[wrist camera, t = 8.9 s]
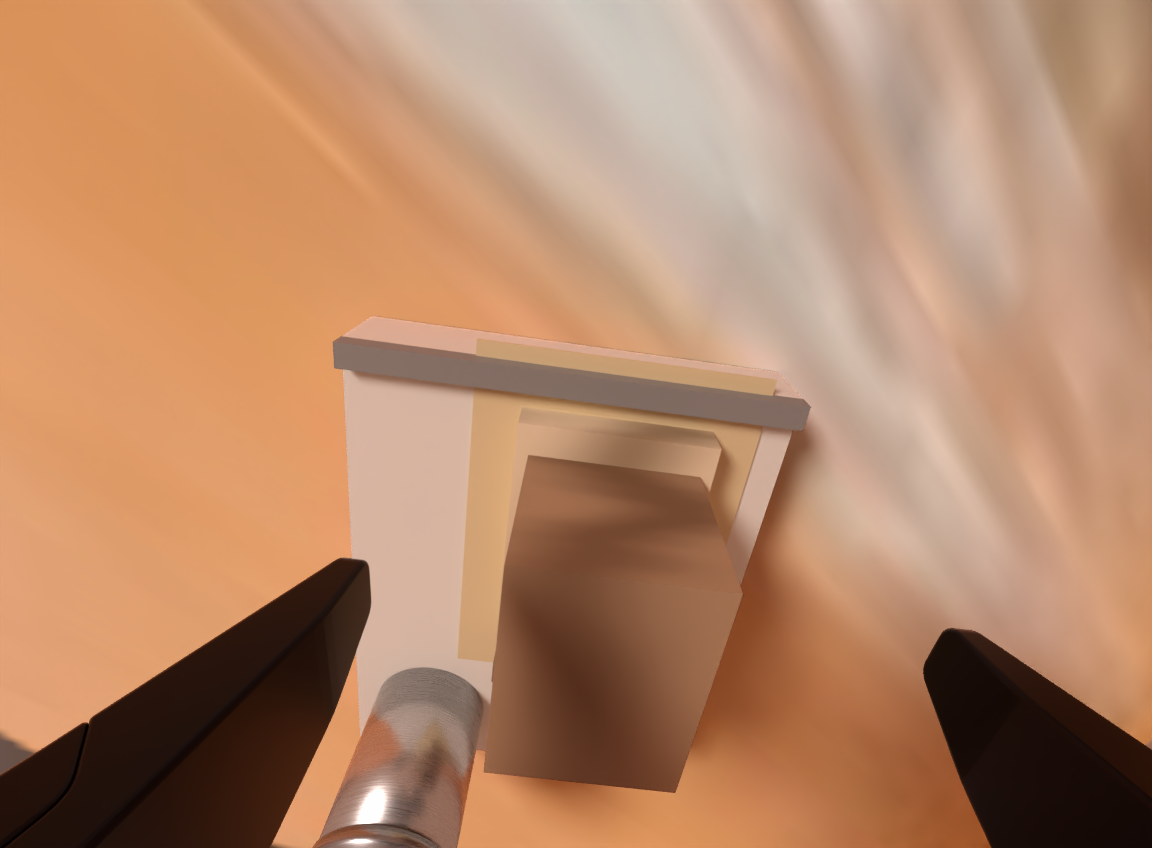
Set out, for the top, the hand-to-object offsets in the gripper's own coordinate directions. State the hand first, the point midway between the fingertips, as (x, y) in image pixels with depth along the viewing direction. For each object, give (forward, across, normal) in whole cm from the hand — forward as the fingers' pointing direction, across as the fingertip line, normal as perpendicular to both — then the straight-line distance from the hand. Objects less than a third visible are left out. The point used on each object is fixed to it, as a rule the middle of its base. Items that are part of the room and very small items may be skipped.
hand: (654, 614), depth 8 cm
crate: (+9, 0, +5) cm, 10 cm away
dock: (+11, +2, +8) cm, 14 cm away
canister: (+9, +6, +15) cm, 18 cm away
